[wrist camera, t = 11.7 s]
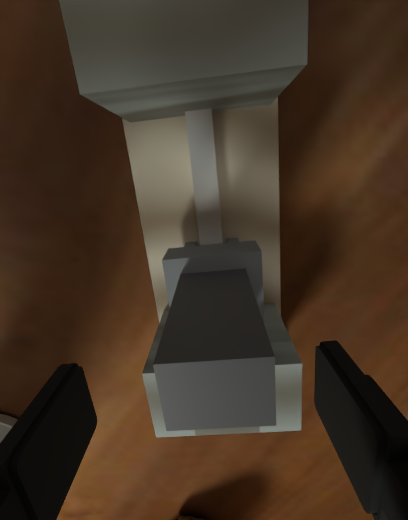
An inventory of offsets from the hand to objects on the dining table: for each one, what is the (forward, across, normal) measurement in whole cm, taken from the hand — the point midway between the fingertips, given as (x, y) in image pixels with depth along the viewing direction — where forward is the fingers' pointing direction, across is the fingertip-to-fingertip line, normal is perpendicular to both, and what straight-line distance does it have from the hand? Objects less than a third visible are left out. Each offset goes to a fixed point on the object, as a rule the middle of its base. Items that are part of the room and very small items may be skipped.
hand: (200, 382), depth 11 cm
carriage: (+10, -1, -1) cm, 10 cm away
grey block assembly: (+12, -1, -4) cm, 13 cm away
